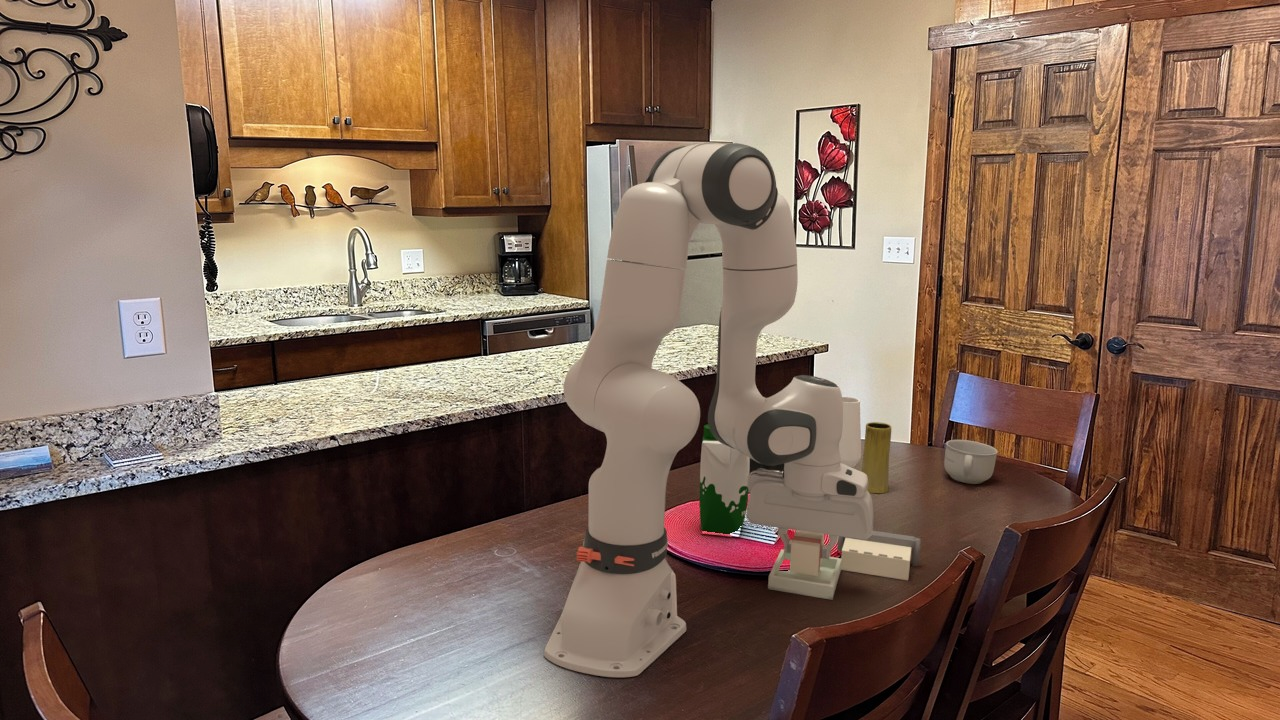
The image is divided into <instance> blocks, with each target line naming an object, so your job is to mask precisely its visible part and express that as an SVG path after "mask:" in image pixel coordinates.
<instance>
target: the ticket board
mask: <svg viewBox="0 0 1280 720" xmlns="http://www.w3.org/2000/svg"><path fill="white" fill-rule="evenodd" d="M921 541H922V540H921V538H920V537H916V536H913V535H906V534H898V533H891V532H885V531H877V530H873V532H872V535H871V536H870V537H869V538H868V539H866V540H863V539H856V538H849V537H842V536H839V537H838V541H837V545H836V546H837V550H838V551H840V552H842V555H841V556H840V558H841V559H842V561H841V571H846V572H853V573H859V574H865V575H872V576H877V577H878V576H879V577H885V578H891V579H897V580H902V581H909V576H910V568H911V566H913V567H918V566H919V563H920V562H919V561H920V552H921ZM837 550H836V551H837Z"/></svg>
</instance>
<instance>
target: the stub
mask: <svg viewBox="0 0 1280 720" xmlns="http://www.w3.org/2000/svg"><path fill="white" fill-rule="evenodd" d="M791 540H792V542H791V558H790V572H796V573H802V574H809V575H815V576H817V575H818V573H819V570H820V566H821V563H822V560H823V558H820V555H821V547H822V545H825V534H821V533H814V532H807V531H800V530H795V533H794V535H793V536H792V538H791Z"/></svg>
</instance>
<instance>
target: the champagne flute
mask: <svg viewBox="0 0 1280 720" xmlns="http://www.w3.org/2000/svg"><path fill="white" fill-rule="evenodd" d="M842 400H843V430H842V436H841V439H840V442H839V451H840V455H841V462H840V463H842V464H844V465H847V466H849V467H851V468H854V467H855V466H856V465H858V463H859V462H860V460H861V458H862V436H861V435H862V431H861V430H862V429H861V427H862V426H861V400H860V399H859V398H856V397H849V396H842Z"/></svg>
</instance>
